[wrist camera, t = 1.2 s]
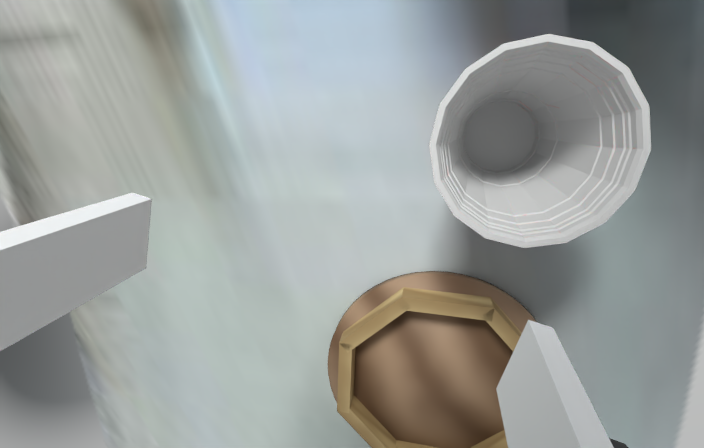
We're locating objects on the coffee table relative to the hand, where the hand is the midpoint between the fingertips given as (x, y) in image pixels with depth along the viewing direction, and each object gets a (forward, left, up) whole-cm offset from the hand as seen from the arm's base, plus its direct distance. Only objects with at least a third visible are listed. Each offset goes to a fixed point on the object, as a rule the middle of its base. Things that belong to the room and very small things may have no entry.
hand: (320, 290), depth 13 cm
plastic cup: (-9, +3, -22) cm, 24 cm away
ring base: (+9, +17, -22) cm, 29 cm away
